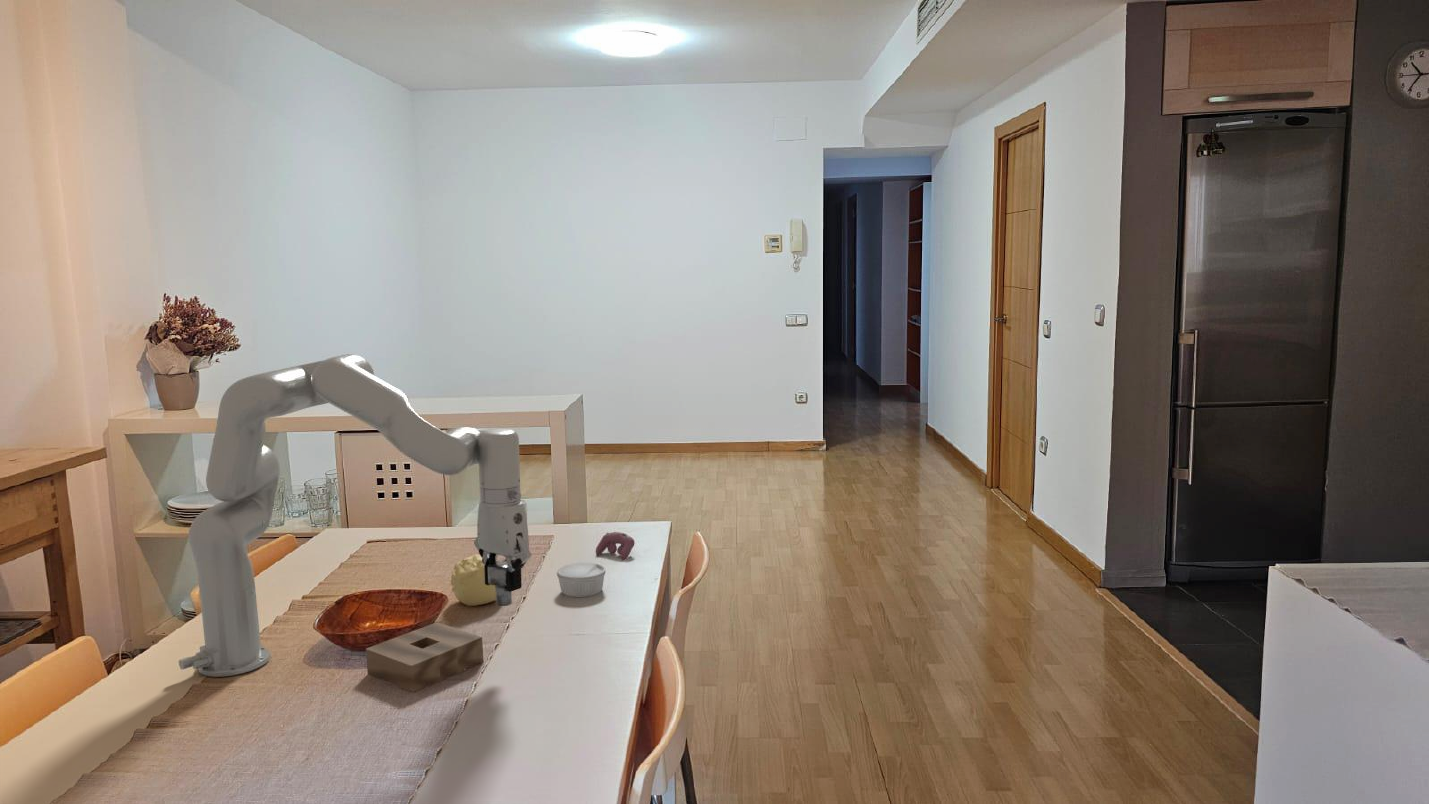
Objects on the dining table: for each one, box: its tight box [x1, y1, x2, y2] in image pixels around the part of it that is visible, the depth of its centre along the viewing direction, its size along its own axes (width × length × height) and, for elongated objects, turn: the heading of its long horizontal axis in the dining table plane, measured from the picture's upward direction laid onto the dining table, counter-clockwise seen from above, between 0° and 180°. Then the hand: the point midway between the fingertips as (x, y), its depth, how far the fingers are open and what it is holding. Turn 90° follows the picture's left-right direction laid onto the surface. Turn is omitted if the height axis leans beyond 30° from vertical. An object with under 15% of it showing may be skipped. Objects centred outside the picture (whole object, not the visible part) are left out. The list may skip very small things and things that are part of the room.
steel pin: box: [488, 560, 515, 607], centre depth 182 cm, size 6×6×8 cm
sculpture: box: [450, 553, 496, 607], centre depth 216 cm, size 12×12×11 cm
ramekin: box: [556, 562, 606, 598], centre depth 222 cm, size 11×11×5 cm
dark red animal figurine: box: [595, 531, 635, 560], centre depth 250 cm, size 10×5×7 cm, turn 59°
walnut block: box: [365, 621, 485, 693], centre depth 180 cm, size 16×14×5 cm
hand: (503, 585), depth 182 cm, fingers closed on steel pin, 5 cm apart
